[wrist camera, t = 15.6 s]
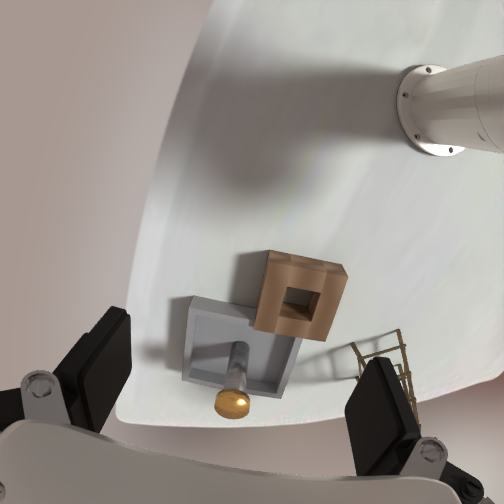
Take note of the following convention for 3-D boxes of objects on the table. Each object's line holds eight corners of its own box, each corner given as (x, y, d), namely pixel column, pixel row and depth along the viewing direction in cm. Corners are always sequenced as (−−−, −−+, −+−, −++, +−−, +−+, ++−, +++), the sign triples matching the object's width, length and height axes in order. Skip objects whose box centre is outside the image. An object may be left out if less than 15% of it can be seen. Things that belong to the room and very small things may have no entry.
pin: (256, 339, 46) (252, 400, 34) (251, 360, 47) (245, 421, 36) (228, 334, 46) (216, 394, 34) (224, 355, 47) (212, 415, 36)
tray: (303, 317, 45) (305, 329, 42) (280, 385, 50) (280, 398, 47) (194, 295, 45) (188, 307, 42) (186, 367, 50) (181, 380, 47)
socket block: (341, 264, 42) (348, 276, 38) (321, 325, 45) (325, 341, 42) (269, 249, 42) (269, 261, 38) (254, 314, 45) (253, 329, 42)
